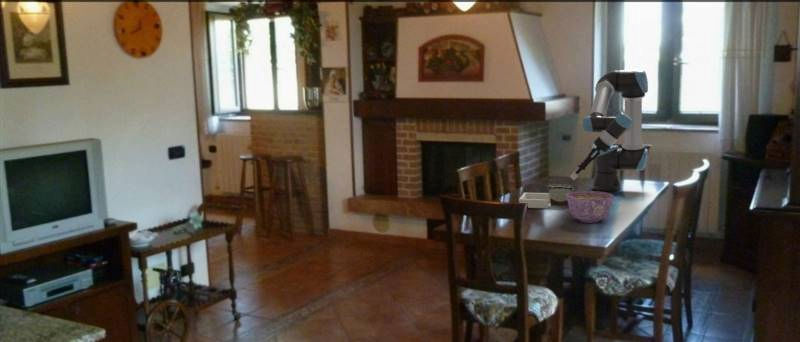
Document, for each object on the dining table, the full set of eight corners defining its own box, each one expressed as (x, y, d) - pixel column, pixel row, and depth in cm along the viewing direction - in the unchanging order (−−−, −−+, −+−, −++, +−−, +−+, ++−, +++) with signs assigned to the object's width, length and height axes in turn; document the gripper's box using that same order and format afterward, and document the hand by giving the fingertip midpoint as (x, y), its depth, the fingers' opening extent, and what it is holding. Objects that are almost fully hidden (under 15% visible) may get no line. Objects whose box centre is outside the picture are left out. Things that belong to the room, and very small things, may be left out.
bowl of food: (605, 227, 315) (605, 200, 313) (559, 223, 325) (559, 197, 323) (618, 218, 331) (619, 192, 330) (574, 214, 342) (575, 189, 340)
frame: (551, 201, 375) (551, 193, 374) (548, 208, 358) (548, 200, 357) (524, 200, 379) (524, 192, 378) (519, 207, 362) (519, 199, 361)
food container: (574, 204, 366) (574, 184, 364) (573, 206, 360) (573, 186, 358) (549, 203, 370) (549, 183, 368) (547, 205, 364) (547, 185, 362)
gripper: (600, 134, 358) (567, 170, 366) (597, 138, 346) (564, 175, 354) (612, 144, 357) (579, 180, 365) (610, 148, 345) (576, 185, 353)
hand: (572, 178), depth 359 cm, fingers closed
